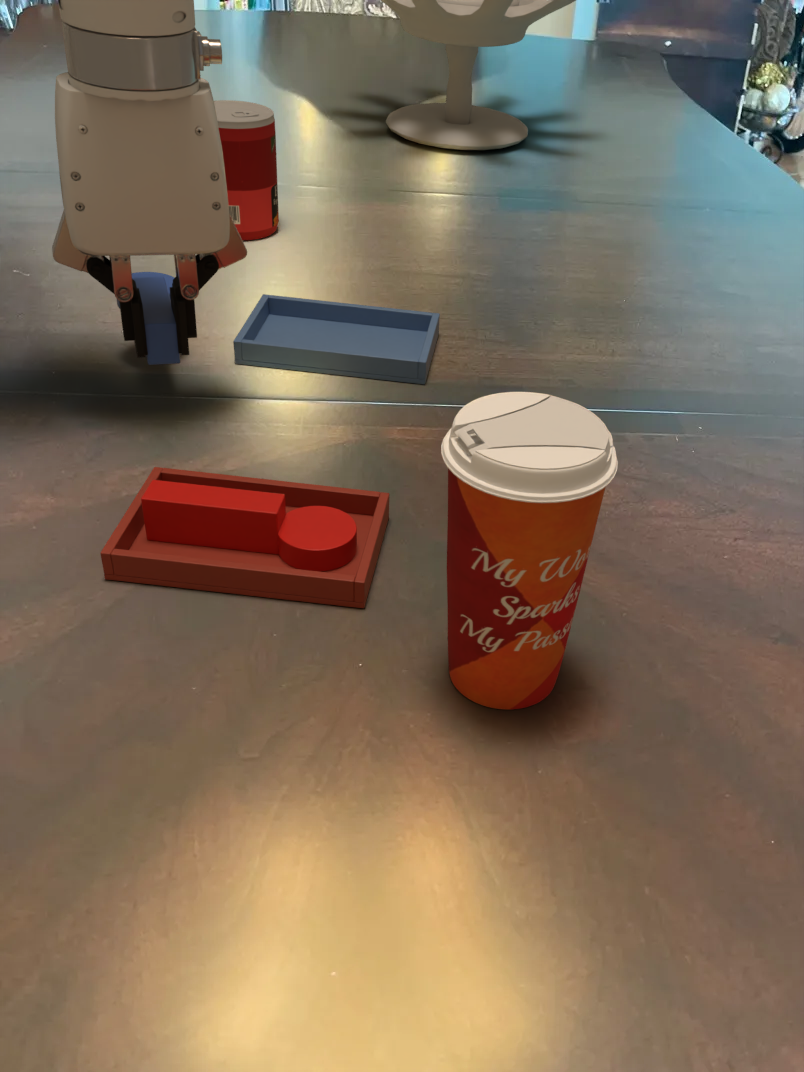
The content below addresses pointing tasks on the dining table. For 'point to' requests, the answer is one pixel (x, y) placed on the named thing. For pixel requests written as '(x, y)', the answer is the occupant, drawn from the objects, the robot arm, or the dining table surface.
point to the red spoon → (249, 524)
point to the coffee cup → (519, 539)
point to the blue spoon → (158, 317)
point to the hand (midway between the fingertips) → (161, 345)
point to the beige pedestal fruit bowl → (464, 68)
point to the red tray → (243, 569)
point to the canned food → (249, 166)
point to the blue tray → (338, 339)
